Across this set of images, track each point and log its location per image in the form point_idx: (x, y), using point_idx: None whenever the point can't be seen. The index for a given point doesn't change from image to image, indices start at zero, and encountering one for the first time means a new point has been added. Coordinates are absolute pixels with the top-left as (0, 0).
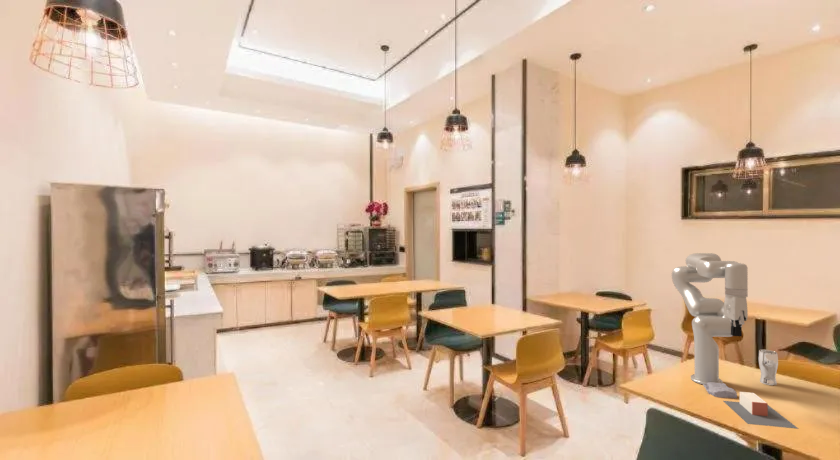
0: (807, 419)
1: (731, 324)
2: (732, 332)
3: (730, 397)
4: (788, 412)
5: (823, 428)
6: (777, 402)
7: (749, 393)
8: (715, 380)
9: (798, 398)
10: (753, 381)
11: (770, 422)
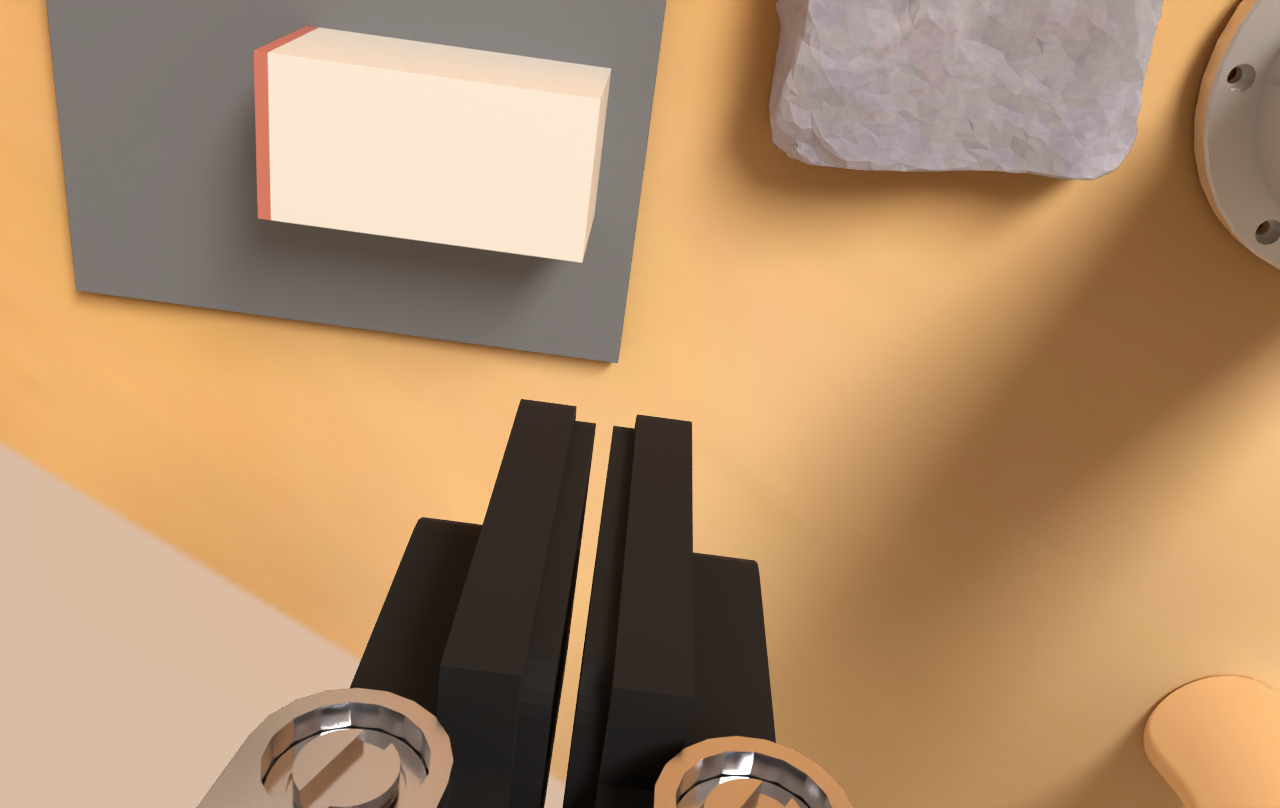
0: (370, 514)
1: (710, 792)
2: (530, 464)
3: (780, 61)
4: (499, 457)
5: (209, 517)
6: (729, 510)
7: (554, 196)
8: (1270, 156)
9: (831, 733)
10: (1277, 627)
11: (145, 102)
